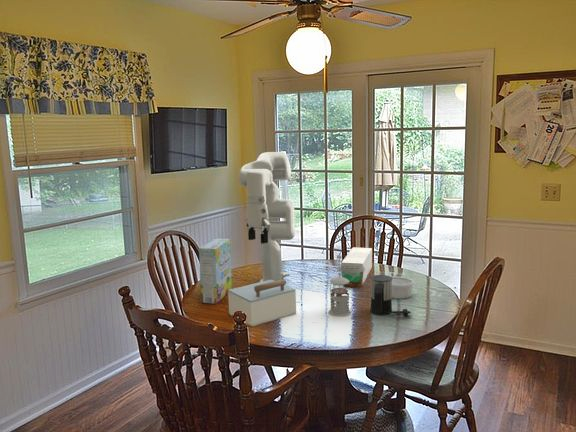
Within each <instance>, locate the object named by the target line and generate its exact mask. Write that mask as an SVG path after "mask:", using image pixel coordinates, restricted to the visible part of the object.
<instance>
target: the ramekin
mask: <svg viewBox="0 0 576 432" xmlns="http://www.w3.org/2000/svg"><path fill="white" fill-rule="evenodd" d="M391 277H392V278H393V279H392V299H395V300H404V299H405V300H406V299H408V298H410V297H411V296H412V292H413V286H414V280H413V279H412V278H409V277H404V276H391Z"/></svg>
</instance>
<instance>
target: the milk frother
mask: <svg viewBox="0 0 576 432" xmlns="http://www.w3.org/2000/svg"><path fill="white" fill-rule="evenodd" d="M392 277H393V276H390V275H387V274H375V275H372V276H371V277H370V280H371V281H370V283H371V284H370V309H369V311H370V312H371V314H375V315H379V316H384V315H386V316H387V315H391V314H402V316H405V317H406V316H408V314H412V313H411V311H408V309H407V308H403V309H402V310H395V311H394V310H393V307H392V306H393V305H392V300H393V298H392V279H393V278H392Z"/></svg>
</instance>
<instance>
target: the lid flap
mask: <svg viewBox="0 0 576 432" xmlns="http://www.w3.org/2000/svg"><path fill="white" fill-rule="evenodd" d="M284 279H285V278H284ZM284 279H282V280H278V281H274V280H267V281H263V282H260V281H259V282H255V283H251V284H248V285H243V286H238V287H233V288H232V289H230V290H228V291H229V292H231V293H233V294H235V295H237V296H239V297H241V298H243V299H245V300H247V301H249V302H255V301H258V300H262V299H266V298H270V297H273V296H277V295H281V294H285V293H288V292H292V291H296V288H293V287H291V286H289V285H286V284H287V282H286V280H284Z"/></svg>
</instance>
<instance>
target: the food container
mask: <svg viewBox="0 0 576 432" xmlns="http://www.w3.org/2000/svg"><path fill="white" fill-rule="evenodd" d="M340 271H342V273H341V277H343V278H346V279H347V280H349V283H348V284H346V285H342V286H343V288H346V289H359V288H361V287H362V286H363V284H362V281H363V272H364V271H365V268H364V267H362V268H357V267H352V266H351V267H344V266H342V264H340Z"/></svg>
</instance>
